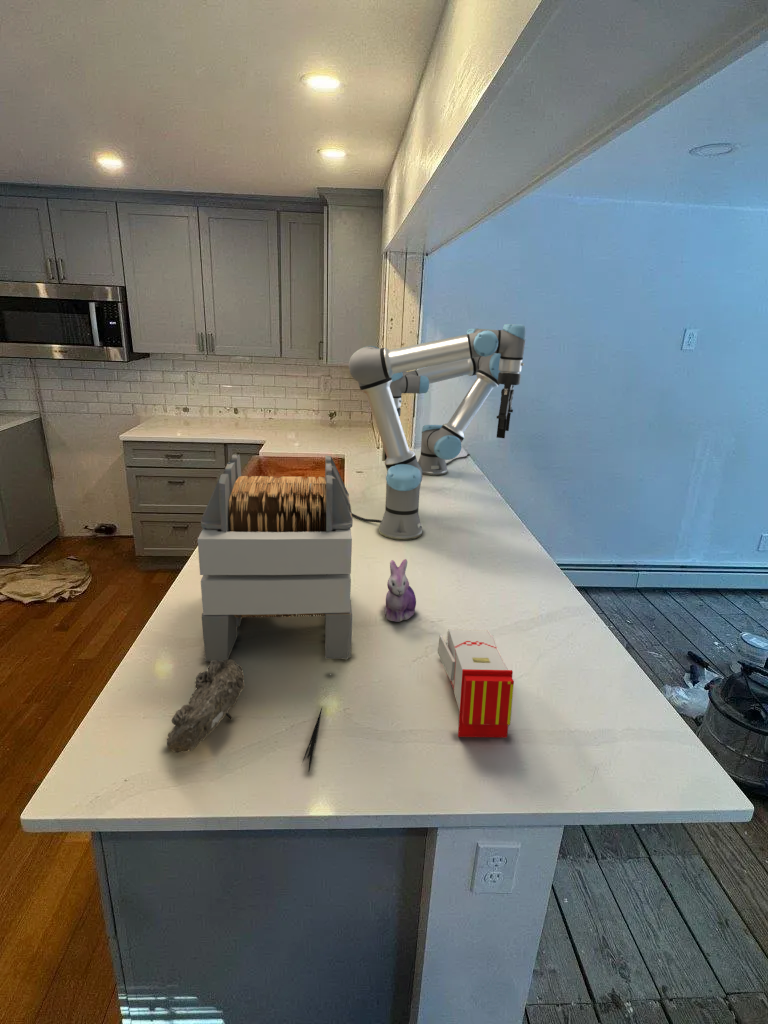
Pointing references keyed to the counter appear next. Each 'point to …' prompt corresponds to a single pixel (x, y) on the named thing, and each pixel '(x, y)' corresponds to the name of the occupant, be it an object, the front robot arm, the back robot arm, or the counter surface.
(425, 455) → the back robot arm
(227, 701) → the fossil
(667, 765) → the counter surface
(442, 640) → the toy
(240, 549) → the record storage crate
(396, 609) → the figurine
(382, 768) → the counter surface
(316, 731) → the feather
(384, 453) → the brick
